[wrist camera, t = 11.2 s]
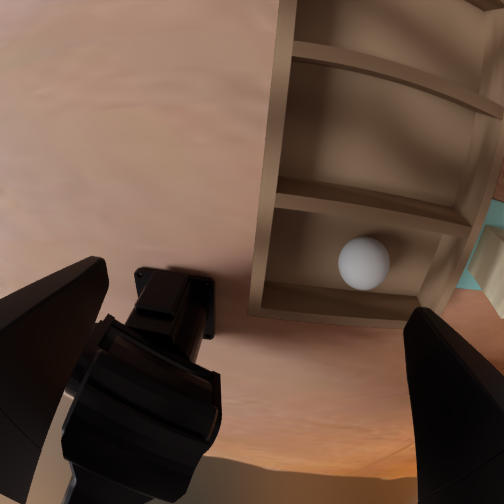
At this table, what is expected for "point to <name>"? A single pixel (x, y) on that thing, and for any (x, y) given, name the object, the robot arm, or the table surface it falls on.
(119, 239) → the table surface
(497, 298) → the block with dark square
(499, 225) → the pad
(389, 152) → the caddy
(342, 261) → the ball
